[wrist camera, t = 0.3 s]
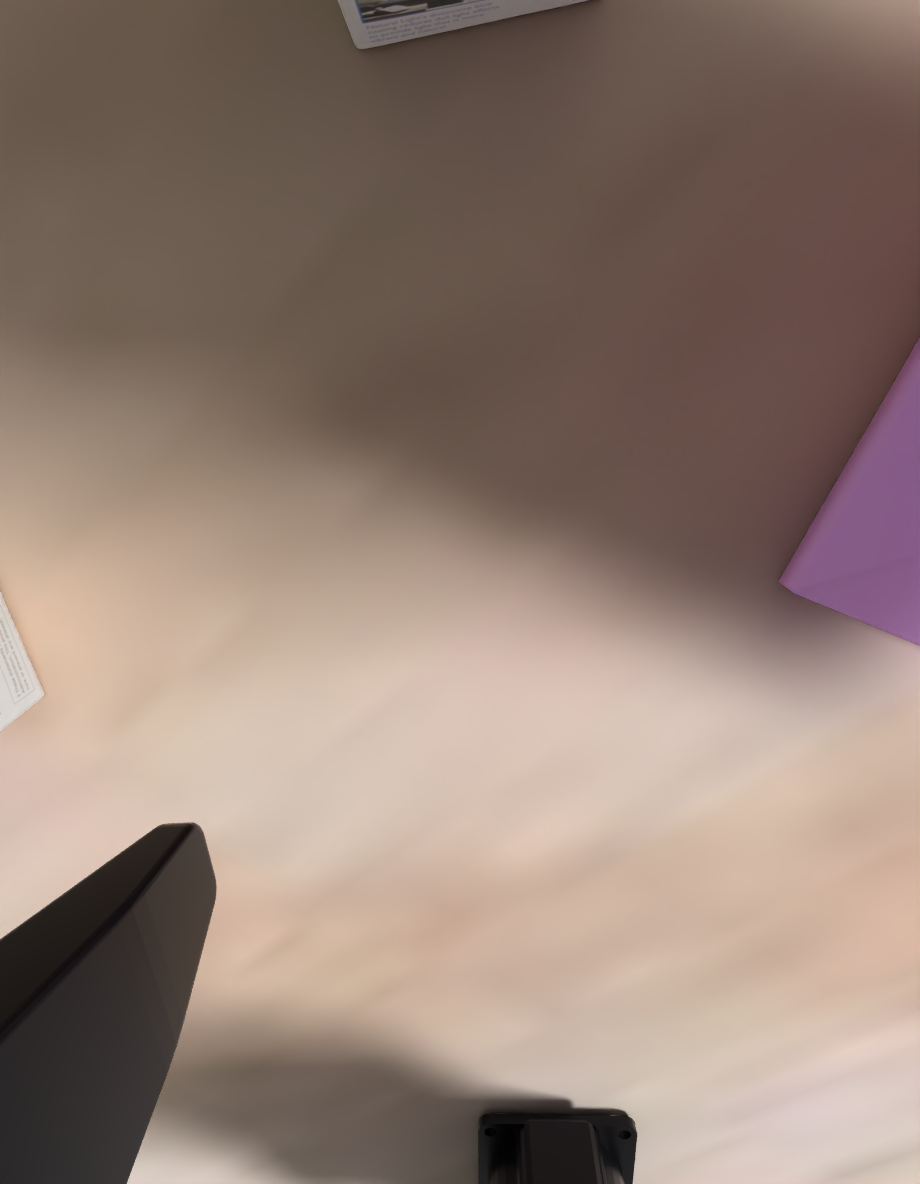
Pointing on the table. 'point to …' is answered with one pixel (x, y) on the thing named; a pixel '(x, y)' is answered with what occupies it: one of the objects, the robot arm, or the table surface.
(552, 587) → the table surface
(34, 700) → the supplement box
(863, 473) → the vase
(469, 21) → the light bulb box
